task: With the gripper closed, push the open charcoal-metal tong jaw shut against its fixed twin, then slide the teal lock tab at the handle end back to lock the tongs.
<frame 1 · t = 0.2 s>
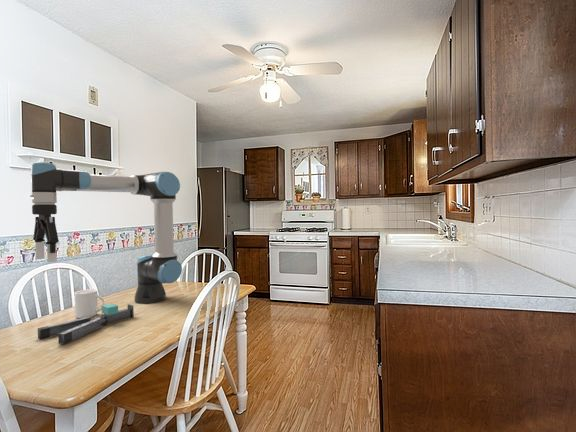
hand: (45, 260, 129), 28 cm above the table, fingers open, 13 cm apart
lock tab: (109, 309, 141), point 5 cm above the table, slide at 0.0 cm
tongs jaw: (81, 330, 126), point 2 cm above the table, hinge at 25.0°
tongs body: (100, 324, 138), on the table
mug: (90, 315, 151), on the table
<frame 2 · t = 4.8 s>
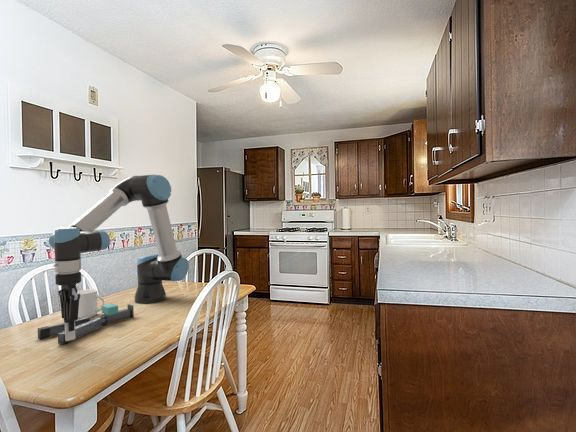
hand: (70, 339, 119), 2 cm above the table, fingers closed
tongs jaw: (81, 330, 126), point 2 cm above the table, hinge at 24.4°, touching gripper
everything else where it was.
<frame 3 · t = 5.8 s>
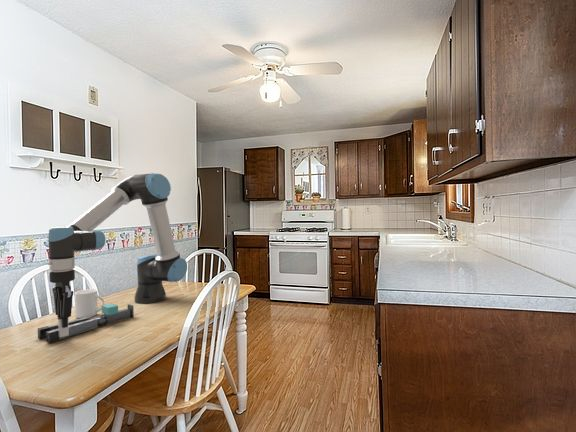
hand: (63, 335, 122), 2 cm above the table, fingers closed
tongs jaw: (73, 329, 127), point 2 cm above the table, hinge at 7.7°, touching gripper
everything else where it was.
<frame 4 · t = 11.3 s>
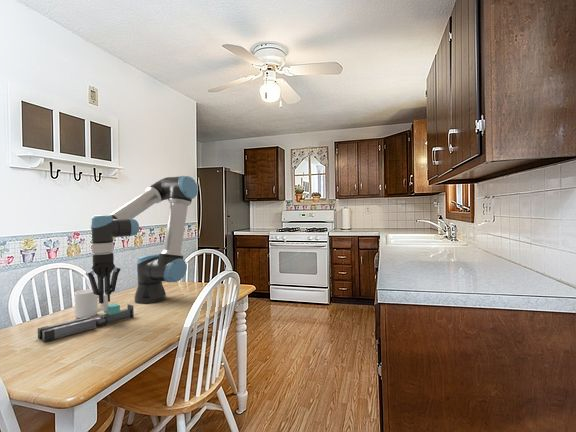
hand: (104, 310, 140), 5 cm above the table, fingers closed
lock tab: (111, 308, 142), point 6 cm above the table, slide at 0.7 cm, touching gripper
tongs jaw: (70, 329, 128), point 2 cm above the table, hinge at -0.1°
everything else where it was.
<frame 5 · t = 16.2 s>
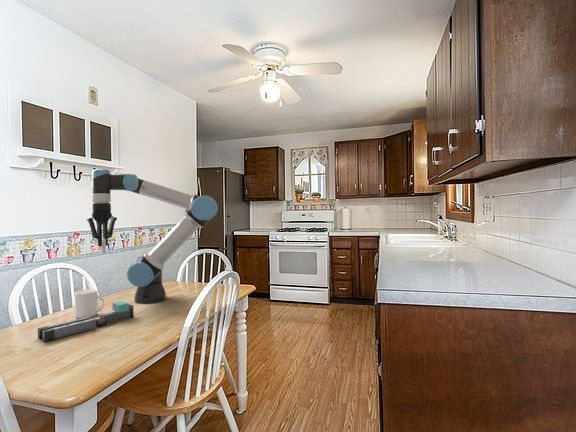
hand: (102, 253, 160), 26 cm above the table, fingers closed
lock tab: (120, 306, 145), point 5 cm above the table, slide at 4.4 cm
everything else where it was.
at the end: tongs jaw at +0° (first picture: +25°); lock tab slide at 4.4 cm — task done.
